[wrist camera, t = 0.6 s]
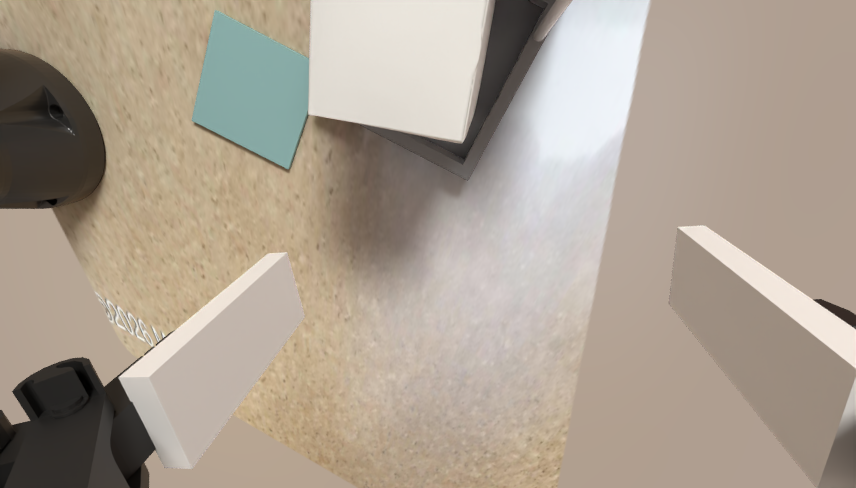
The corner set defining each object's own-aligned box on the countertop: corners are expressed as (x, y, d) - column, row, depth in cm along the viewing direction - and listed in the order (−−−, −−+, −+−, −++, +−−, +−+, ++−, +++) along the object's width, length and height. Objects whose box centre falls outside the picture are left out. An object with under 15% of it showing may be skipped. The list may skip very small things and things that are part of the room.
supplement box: (385, -20, 32) (306, -91, 18) (497, -2, 31) (504, -63, 18) (373, 101, 35) (301, 117, 22) (474, 118, 35) (465, 146, 21)
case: (320, 96, 36) (204, 111, 21) (391, -113, 29) (295, -298, 15) (469, 174, 37) (456, 239, 22) (570, -13, 30) (646, -95, 16)
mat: (194, 120, 38) (191, 120, 38) (217, 10, 34) (215, 10, 34) (290, 168, 39) (288, 169, 38) (324, 66, 35) (322, 66, 34)
